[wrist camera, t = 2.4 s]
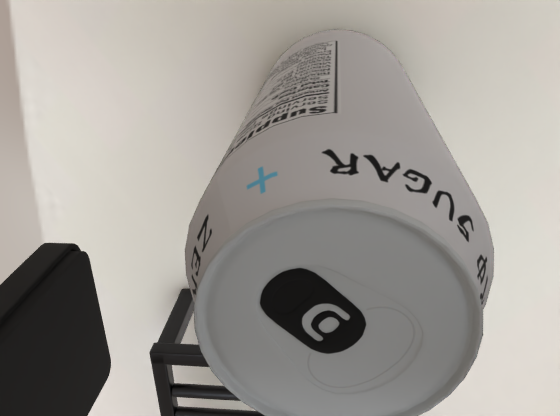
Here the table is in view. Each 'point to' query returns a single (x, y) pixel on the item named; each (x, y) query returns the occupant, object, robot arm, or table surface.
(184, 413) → the rack
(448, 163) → the energy drink can
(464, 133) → the table surface
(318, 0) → the table surface
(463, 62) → the table surface
